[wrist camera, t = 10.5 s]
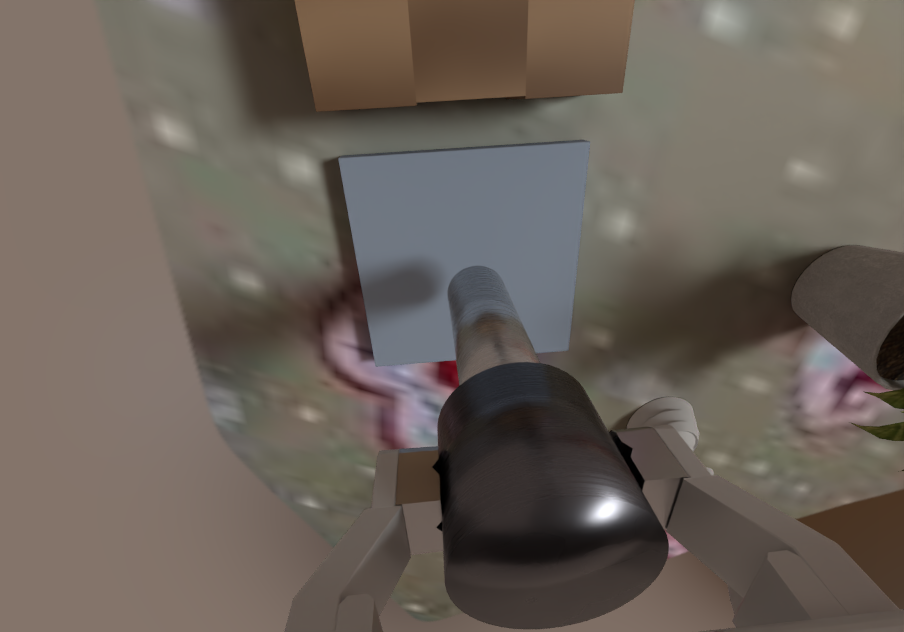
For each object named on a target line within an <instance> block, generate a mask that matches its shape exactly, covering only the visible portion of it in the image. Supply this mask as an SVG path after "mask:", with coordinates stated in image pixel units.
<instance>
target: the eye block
mask: <svg viewBox="0 0 904 632" xmlns="http://www.w3.org/2000/svg"><path fill="white" fill-rule="evenodd" d="M634 1H635V0H295V6H296V11H297V16H298V21H299V26H300V31H301V36H302V42H303V47H304V52H305V57H306V62H307V67H308V72H309V78H310V83H311V88H312V93H313V98H314V103H315V108H316V112H321V111H337V110H353V109H369V108H386V107H402V106H417V103H418V102H434V101H451V100H467V99H483V98H499V97H506V99H531V98H547V97H563V96H580V95H596V94H612V93H622V92H623V84H624V77H625V69H626V62H627V54H628V47H629V39H630V32H631V24H632V16H633V9H634Z"/></svg>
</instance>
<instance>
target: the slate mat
mask: <svg viewBox="0 0 904 632" xmlns="http://www.w3.org/2000/svg"><path fill="white" fill-rule="evenodd" d="M589 149H590V141H585V140H573V141H558V142H542V143H527V144H512V145H497V146H481V147H466V148H451V149H436V150H421V151H405V152H390V153H375V154H360V155H344V156H341V157H339V158H338V160H339V165H340V171H341V176H342V182H343V188H344V193H345V199H346V204H347V210H348V215H349V221H350V227H351V232H352V238H353V243H354V249H355V254H356V260H357V266H358V271H359V277H360V282H361V288H362V293H363V299H364V305H365V310H366V316H367V321H368V327H369V332H370V338H371V344H372V349H373V355H374V360H375V366H376V367H378V366H390V365H402V364H414V363H426V362H438V361H450V360H456V355H455V347H454V340H453V333H452V325H451V318H450V310H449V303H448V296H447V291H448V286H449V284H450V281H451V280H452V278H453V277H454V276H455V275H456V274H457V273H458V272H459V271H461V270H463V269H465V268H467V267H470V266H485V267H488V268H491V269H493V270H494V271H496V272H497V273H498V274H499V275H500V277H501V278H502V280H503V282H504V284H505V286H506V289H507V291H508V293H509V295H510V297H511V300H512V302H513V304H514V306H515V308H516V310H517V313H518V315H519V317H520V319H521V321H522V324H523V326H524V328H525V330H526V332H527V335H528V337H529V339H530V341H531V343H532V345H533V348H534V350H535V352H536V353H545V352H557V351H568V350H569V340H570V331H571V321H572V312H573V302H574V292H575V283H576V273H577V264H578V254H579V244H580V235H581V225H582V216H583V206H584V197H585V187H586V177H587V168H588V158H589Z"/></svg>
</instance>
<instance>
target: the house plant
mask: <svg viewBox="0 0 904 632" xmlns="http://www.w3.org/2000/svg"><path fill="white" fill-rule="evenodd" d="M791 303H792V308H793V310H794V311H795V313H796V314H797V315H798V316H799V317H800V318H801V319H803V320H804V321H805V322H806V323H807V324H808V325H810V326H811V327H812V328H813V329H814V330H815V331H817V332H818V333H819V334H820V335H821V336H823V337H824V338H825V339H826V340H827V341H828V342H830V343H831V344H832V345H833V346H834V347H835V348H837V349H838V350H839V351H840V352H841V353H843V354H844V355H845V356H846V357H847V358H848V359H850V360H851V361H852V362H853V363H854V364H855V365H857V366H858V367H859V368H860V369H861V370H863V371H864V372H865V373H866V374H867V375H868V376H870V377H871V378H872V379H873V380H874V381H875V382H877V383H878V384H880V385H881V386H883V387H884V388H886V389H890V390H894V391H889V392H884V393H871V392H865V393H868V394H870V395H873V396H876V397H878V398H880V399H881V400H883V401H884V402H886V403H888V404H889V405H891V406H893V407H894V408H899V409H904V252H897V251H891V250H885V249H879V248H872V247H866V246H860V245H847V246H844V247H840V248H836V249H834V250H832V251H830V252H828V253H826V254H824V255H822V256H821V257H819V258H818V259H817V260H815V261H814V262H813V263H812V264H811V265H810V266H809V267H807V268H806V269H805V270H804V272H803V273H802V274H801V276H800V277H799V279H798V280H797V282H796V284H795V286H794V288H793V291H792V296H791ZM902 413H904V411H903V412H902ZM849 423H850V422H849ZM851 424H853V423H851ZM853 425H855V426H857V427H859V428H861V429H863V430H865V431H867V432H869V433H871V434H873V435H875V436H876V437H878V438H881V439H886V440H892V441H904V422H901V423H895V424H890V425H885V426H880V427H873V426H859V425H856V424H853ZM902 471H904V470H902ZM898 472H899V471H898Z"/></svg>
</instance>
